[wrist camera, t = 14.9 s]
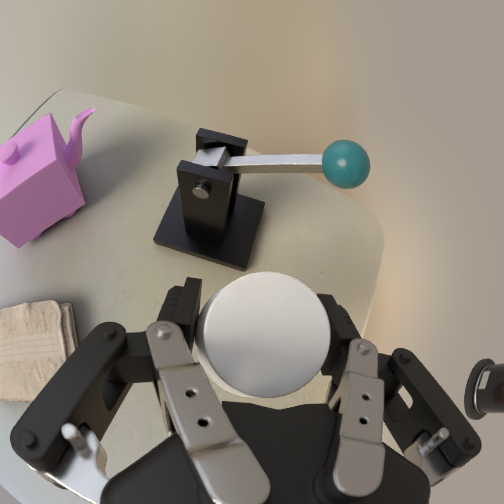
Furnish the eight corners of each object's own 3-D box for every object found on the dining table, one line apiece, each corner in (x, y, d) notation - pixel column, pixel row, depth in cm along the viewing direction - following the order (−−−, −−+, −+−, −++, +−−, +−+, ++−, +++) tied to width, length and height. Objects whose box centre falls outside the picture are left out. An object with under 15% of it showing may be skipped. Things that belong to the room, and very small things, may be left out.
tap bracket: (263, 206, 34) (289, 136, 23) (244, 271, 31) (266, 218, 19) (182, 183, 34) (175, 107, 22) (154, 243, 31) (128, 179, 19)
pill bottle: (212, 294, 19) (216, 237, 10) (287, 315, 20) (354, 277, 10) (190, 370, 17) (170, 388, 8) (269, 390, 17) (326, 420, 8)
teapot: (13, 261, 26) (-42, 221, 15) (6, 208, 28) (-35, 163, 17) (125, 190, 32) (99, 121, 21) (106, 145, 35) (85, 81, 23)
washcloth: (96, 397, 23) (85, 401, 20) (-1, 402, 19) (-14, 403, 16) (75, 297, 27) (63, 291, 24) (-15, 319, 22) (-28, 315, 19)
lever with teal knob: (369, 165, 19) (369, 130, 16) (369, 200, 18) (370, 165, 15) (214, 166, 25) (198, 139, 22) (201, 195, 24) (181, 169, 21)
